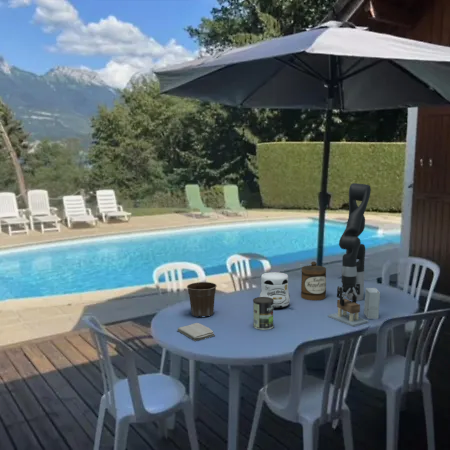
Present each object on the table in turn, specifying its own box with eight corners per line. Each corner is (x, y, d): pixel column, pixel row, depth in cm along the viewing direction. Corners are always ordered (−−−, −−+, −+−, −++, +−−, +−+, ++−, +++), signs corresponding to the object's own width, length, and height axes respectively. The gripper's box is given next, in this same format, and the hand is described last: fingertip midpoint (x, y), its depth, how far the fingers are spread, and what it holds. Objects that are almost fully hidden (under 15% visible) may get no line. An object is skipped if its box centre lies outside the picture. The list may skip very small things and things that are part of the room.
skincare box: (363, 314, 267) (364, 287, 265) (374, 313, 267) (375, 287, 264) (368, 319, 258) (368, 291, 256) (379, 319, 258) (380, 291, 256)
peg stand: (328, 316, 263) (328, 306, 262) (343, 313, 269) (343, 303, 268) (352, 326, 248) (353, 316, 247) (368, 322, 253) (368, 312, 252)
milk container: (275, 312, 271) (275, 281, 268) (253, 305, 284) (253, 275, 281) (296, 306, 282) (296, 275, 280) (274, 299, 295) (274, 270, 292)
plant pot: (181, 314, 270) (180, 286, 268) (202, 307, 282) (201, 280, 279) (202, 321, 259) (201, 291, 257) (223, 313, 271) (222, 285, 268)
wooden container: (306, 301, 290) (307, 265, 287) (297, 294, 304) (297, 259, 301) (330, 299, 294) (330, 263, 290) (319, 292, 308) (320, 258, 305)
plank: (337, 307, 262) (337, 299, 261) (345, 305, 264) (345, 298, 263) (351, 313, 251) (351, 306, 250) (359, 312, 253) (360, 304, 252)
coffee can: (276, 325, 252) (277, 298, 250) (267, 331, 243) (267, 303, 241) (259, 321, 257) (259, 295, 255) (249, 327, 248) (249, 300, 246)
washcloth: (195, 342, 231) (195, 336, 230) (176, 331, 245) (176, 326, 245) (216, 337, 238) (216, 330, 237) (196, 326, 252) (196, 321, 252)
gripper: (344, 277, 248) (343, 308, 250) (364, 273, 255) (363, 304, 257) (333, 274, 254) (333, 304, 257) (353, 270, 261) (352, 300, 264)
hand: (348, 304), depth 257 cm, fingers open, 8 cm apart
